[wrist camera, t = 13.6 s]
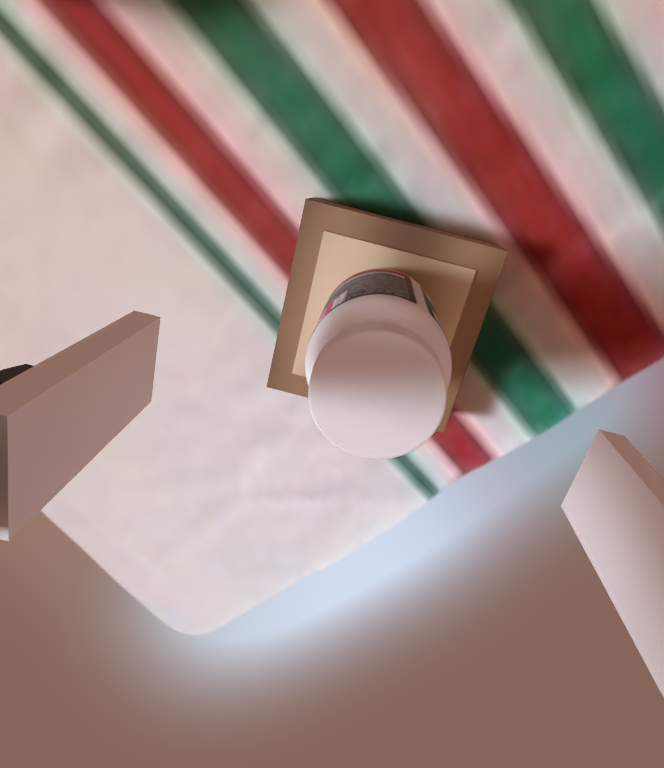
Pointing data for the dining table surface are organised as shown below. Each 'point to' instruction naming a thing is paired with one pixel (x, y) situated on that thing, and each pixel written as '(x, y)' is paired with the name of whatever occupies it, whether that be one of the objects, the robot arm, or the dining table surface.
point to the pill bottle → (378, 366)
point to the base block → (382, 251)
